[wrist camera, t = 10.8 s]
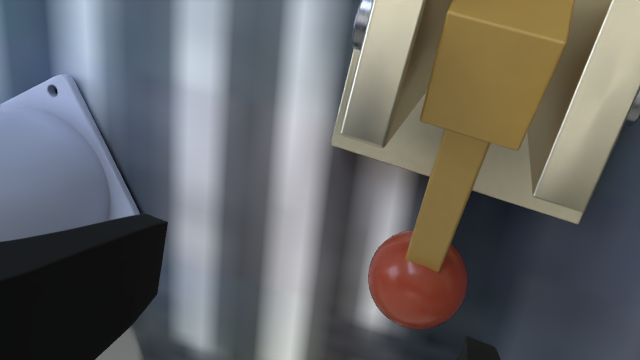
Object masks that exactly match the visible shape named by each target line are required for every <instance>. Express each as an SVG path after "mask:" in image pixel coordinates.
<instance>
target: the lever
mask: <svg viewBox="0 0 640 360" xmlns="http://www.w3.org/2000/svg"><path fill="white" fill-rule="evenodd" d="M574 3H575V0H452V2H451V5H450V7H449V9H448V11H447V14H446V18H445V22H444V26H443V30H442V34H441V38H440V42H439V45H438V49H437V53H436V57H435V61H434V65H433V69H432V73H431V77H430V81H429V85H428V89H427V92H426V96H425V100H424V104H423V108H422V112H421V116H420V121H421V122H423V123H427V124H430V125H433V126H436V127H440V128H443V129H444V132H443V135H442V139H441V142H440V145H439V149H438V152H437V155H436V158H435V162H434V165H433V168H432V172H431V175H430V178H429V182H428V185H427V188H426V191H425V195H424V198H423V201H422V205H421V208H420V211H419V214H418V218H417V221H416V224H415V228H414V230H408V231H403V232H400V233H398V234H396V235H393V236H392V237H390V238H389V239H387V240H386V241H385V242H384V243H383V244H382V245H381V246H380V247H379V248H378V250H377V251H376V252H375V254H374V256H373V258H372V261H371V264H370V267H369V274H368V282H369V289H370V293H371V296H372V298H373V300H374V302H375V304H376V306H377V307H378V308H379V310H380V311H381V312H382V313H383V314H384V315H385V316H386V317H387V318H389V319H390V320H391V321H393V322H394V323H396V324H398V325H401V326H403V327H407V328H412V329H427V328H432V327H435V326H437V325H440V324H442V323H444V322H445V321H447V320H448V319H450V318H451V317H452V316H453V315H454V314H455V313H456V312H457V310H458V309H459V308H460V306H461V304H462V303H463V300H464V298H465V295H466V291H467V284H468V277H467V270H466V267H465V264H464V261H463V259H462V257H461V255H460V253H459V252H458V250H457V249H456V248H455V247H454V246H453V245H452V244H451V242H452V239H453V236H454V234H455V231H456V229H457V226H458V224H459V221H460V219H461V216H462V214H463V211H464V209H465V206H466V204H467V201H468V199H469V196H470V194H471V191H472V189H473V186H474V183H475V181H476V178H477V176H478V173H479V171H480V168H481V166H482V163H483V161H484V158H485V156H486V153H487V151H488V148H489V146H490V143H492V144H496V145H499V146H502V147H506V148H509V149H512V150H518V149H519V148H520V146H521V144H522V142H523V140H524V138H525V135H526V133H527V131H528V129H529V126H530V124H531V122H532V120H533V118H534V115H535V113H536V111H537V109H538V107H539V104H540V102H541V100H542V98H543V96H544V93H545V91H546V89H547V87H548V85H549V82H550V80H551V78H552V76H553V74H554V71H555V69H556V67H557V65H558V63H559V60H560V58H561V56H562V54H563V52H564V49H565V47H566V45H567V41H568V35H569V30H570V25H571V19H572V14H573V8H574Z"/></svg>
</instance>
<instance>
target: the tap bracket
mask: <svg viewBox="0 0 640 360" xmlns="http://www.w3.org/2000/svg"><path fill="white" fill-rule="evenodd" d="M451 2H452V0H361V1H360V4H359V6H358V10H357V13H356V16H355V21H354V25H353V31H352V46H353V48H354V50H353V54H352V58H351V62H350V66H349V71H348V75H347V79H346V83H345V87H344V91H343V95H342V99H341V103H340V107H339V111H338V115H337V119H336V124H335V128H334V132H333V136H332V140H331V145H332V146H336V147H339V148H342V149H345V150H348V151H351V152H354V153H357V154H360V155H364V156H367V157H370V158H373V159H376V160H379V161H382V162H385V163H388V164H391V165H395V166H398V167H401V168H404V169H407V170H410V171H413V172H416V173H419V174H422V175H426V176H429V177H430V175H431V172H432V168H433V165H434V162H435V158H436V155H437V152H438V149H439V145H440V142H441V139H442V135H443V132H444V129H443V128H440V127H436V126H433V125H430V124H427V123H423V122H421V121H420V116H421V112H422V108H423V104H424V100H425V96H426V92H427V89H428V85H429V81H430V77H431V73H432V69H433V65H434V61H435V57H436V53H437V49H438V45H439V42H440V38H441V34H442V30H443V26H444V22H445V18H446V14H447V11H448V9H449V7H450V5H451ZM639 118H640V0H575V3H574V8H573V14H572V19H571V25H570V30H569V35H568V41H567V45H566V47H565V49H564V52H563V54H562V56H561V58H560V60H559V63H558V65H557V67H556V69H555V71H554V74H553V76H552V78H551V80H550V82H549V85H548V87H547V89H546V91H545V93H544V96H543V98H542V100H541V102H540V104H539V107H538V109H537V111H536V113H535V115H534V118H533V120H532V122H531V124H530V126H529V129H528V131H527V133H526V135H525V138H524V140H523V142H522V144H521V146H520V148H519V149H518V150H512V149H509V148H506V147H502V146H499V145H496V144H492V143H490V146H489V148H488V151H487V153H486V156H485V158H484V161H483V163H482V166H481V168H480V171H479V173H478V176H477V178H476V181H475V183H474V186H473V189H472V191H475V192H478V193H481V194H485V195H488V196H491V197H494V198H497V199H500V200H503V201H506V202H509V203H512V204H516V205H519V206H522V207H525V208H528V209H531V210H534V211H537V212H540V213H543V214H547V215H550V216H553V217H556V218H559V219H562V220H565V221H568V222H571V223H575V224H579V223H580V221H581V218H582V216H583V214H584V212H585V211H586V208H587V206H588V204H589V202H590V200H591V197H592V195H593V193H594V191H595V188H596V186H597V184H598V182H599V180H600V177H601V175H602V173H603V171H604V168H605V166H606V164H607V162H608V159H609V157H610V155H611V153H612V151H613V148H614V146H615V144H616V142H617V139H618V137H619V135H620V133H621V131H622V128H623V126H632V125H633V124H635V123H636V121H637V120H638V119H639Z"/></svg>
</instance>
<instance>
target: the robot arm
mask: <svg viewBox="0 0 640 360" xmlns="http://www.w3.org/2000/svg"><path fill="white" fill-rule="evenodd" d="M54 86H55V87H56V88H57V90H58V94H57V93H56V92H55V90H54ZM167 224H168V222H166V221H163V220H161V219H158V218H155V217H153V216H150V215H147V214H140V212H139V210H138V208H137V206H136V204H135V202H134V200H133V198H132V196H131V194H130V192H129V190H128V188H127V186H126V184H125V182H124V180H123V178H122V176H121V174H120V172H119V170H118V168H117V166H116V164H115V162H114V160H113V158H112V156H111V154H110V152H109V150H108V148H107V146H106V144H105V142H104V140H103V138H102V136H101V134H100V132H99V130H98V128H97V125H96V123H95V121H94V119H93V117H92V115H91V113H90V111H89V109H88V107H87V105H86V103H85V101H84V99H83V97H82V95H81V93H80V91H79V89H78V87H77V85H76V83H75V81H74V80H73V78H72V77H71V76H69V75H67V74H62V75H57V76H55V77H53V78H51V79H49V80H47V81H45V82H43V83H41V84H39V85H37V86H35V87H33V88H31V89H29V90H27V91H26V92H24V93H22V94H20V95H18V96H16V97H14V98H12V99H10V100H8V101H6V102H4V103H2V104H0V360H95V359H96V358H97V357H98V356H99V355H100V354H101V353H102V352H103V351H105V350H106V349H107V348H108V347H109V346H110V345H111V344H112V343H113V342H114V341H115V340H117V339H118V338H119V337H120V336H121V335H122V334H123V333H124V332H125V331H126V330H127V329H128V328H129V327H130V326H131V325H132V324H133V323H134V322H135V321H136V320H137V318H138V317H139V316H140V315H141V314H142V312H143V311H144V310H145V309H146V307H147V306H148V305H149V304H150V302H151V301H152V300H153V299H154V297H155V296H156V295H157V292H158V285H159V278H160V272H161V265H162V258H163V251H164V245H165V238H166V231H167ZM457 360H500V357H499V354H498V352H497V350H496V348H495V347H494V346H491V345H488V344H486V343H483V342H480V341H478V340H475V339H473V338H470V337H466V339H465V342H464V344H463V346H462V349H461V351H460V354H459V356H458V359H457Z"/></svg>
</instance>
